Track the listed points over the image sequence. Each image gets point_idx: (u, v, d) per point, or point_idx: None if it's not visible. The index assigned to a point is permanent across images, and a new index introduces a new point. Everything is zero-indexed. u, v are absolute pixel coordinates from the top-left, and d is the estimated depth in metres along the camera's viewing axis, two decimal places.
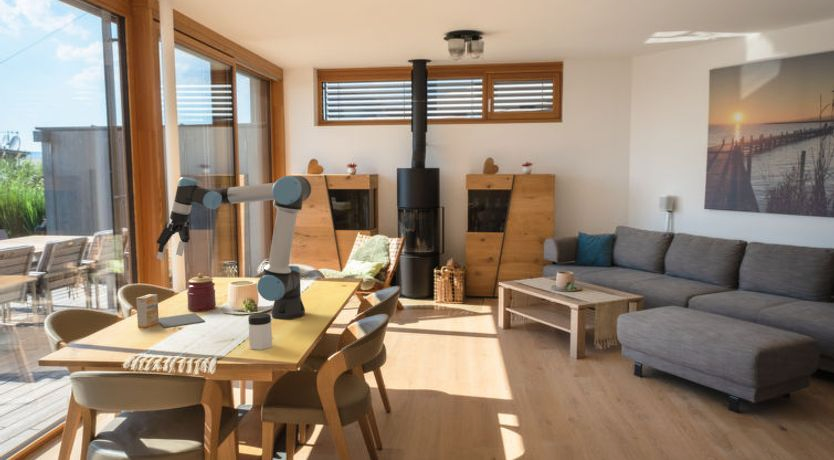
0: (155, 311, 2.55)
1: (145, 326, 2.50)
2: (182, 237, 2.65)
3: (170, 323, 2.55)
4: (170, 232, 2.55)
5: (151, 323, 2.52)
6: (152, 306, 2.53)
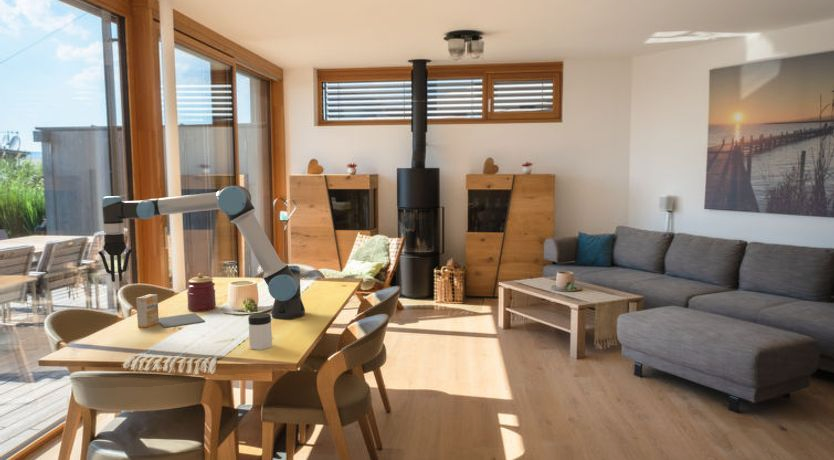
0: (155, 311, 2.55)
1: (145, 326, 2.50)
2: (117, 266, 2.45)
3: (170, 323, 2.55)
4: (110, 258, 2.43)
5: (151, 323, 2.52)
6: (152, 306, 2.53)
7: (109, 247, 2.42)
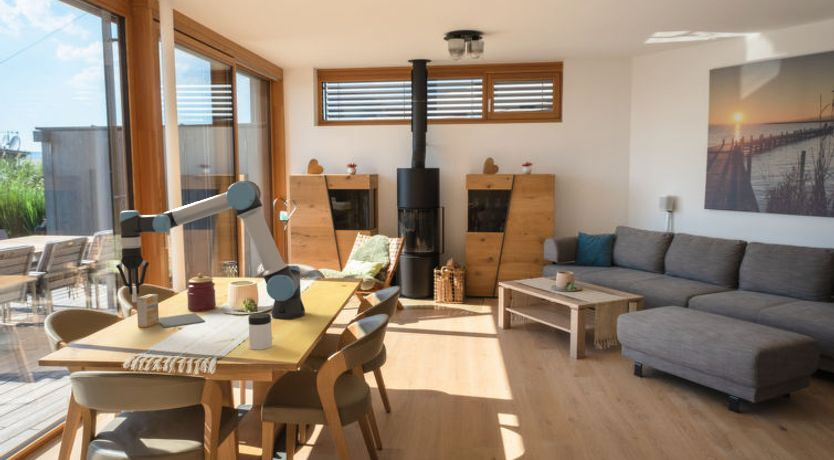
0: (155, 311, 2.55)
1: (145, 326, 2.50)
2: (135, 279, 2.49)
3: (170, 323, 2.55)
4: (128, 271, 2.47)
5: (151, 323, 2.52)
6: (152, 306, 2.53)
7: (127, 261, 2.46)
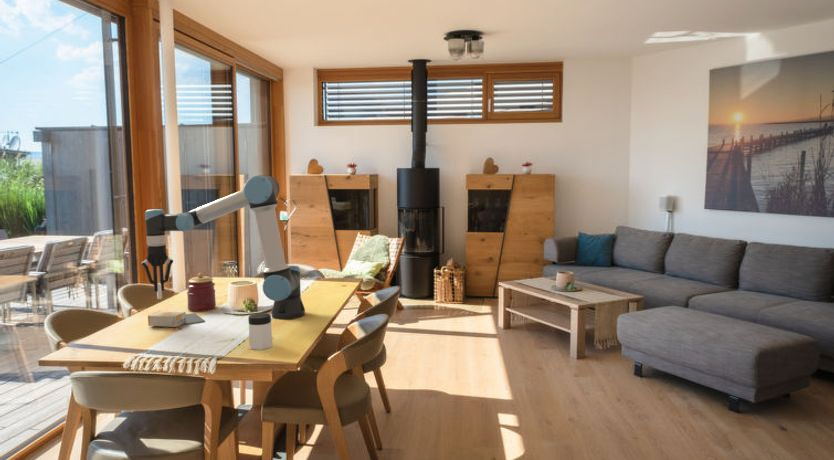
0: None
1: (149, 324, 2.50)
2: (160, 276, 2.55)
3: None
4: (153, 269, 2.53)
5: None
6: None
7: (152, 258, 2.52)
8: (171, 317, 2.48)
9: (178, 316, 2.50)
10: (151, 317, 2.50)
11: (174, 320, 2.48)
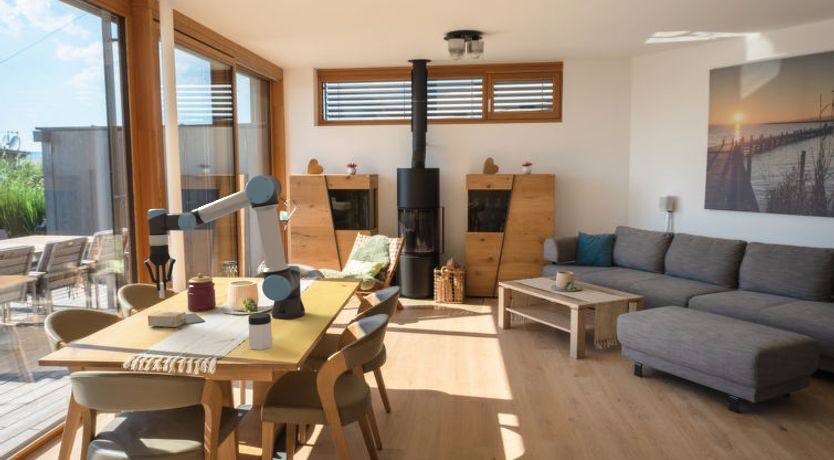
0: None
1: (149, 324, 2.50)
2: (162, 275, 2.55)
3: None
4: (155, 268, 2.53)
5: None
6: None
7: (154, 258, 2.52)
8: (171, 317, 2.48)
9: (178, 316, 2.50)
10: (151, 317, 2.50)
11: (174, 320, 2.48)
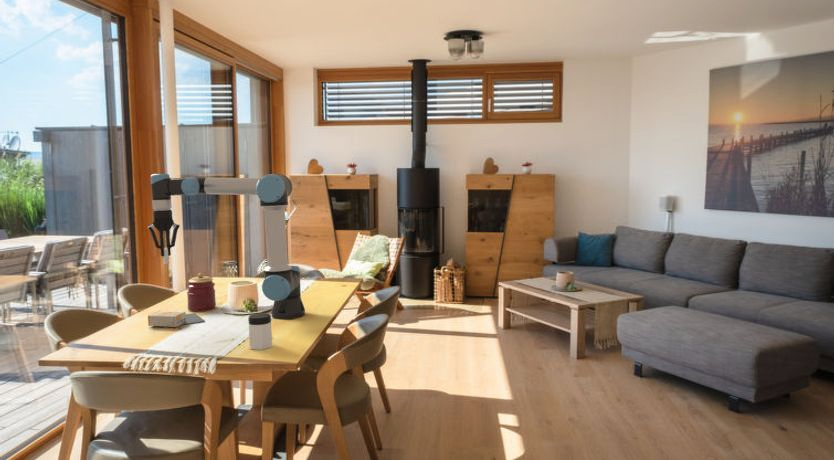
0: None
1: (149, 324, 2.50)
2: (166, 241, 2.54)
3: None
4: (159, 234, 2.52)
5: None
6: None
7: (158, 223, 2.51)
8: (171, 317, 2.48)
9: (178, 316, 2.50)
10: (151, 317, 2.50)
11: (174, 320, 2.48)
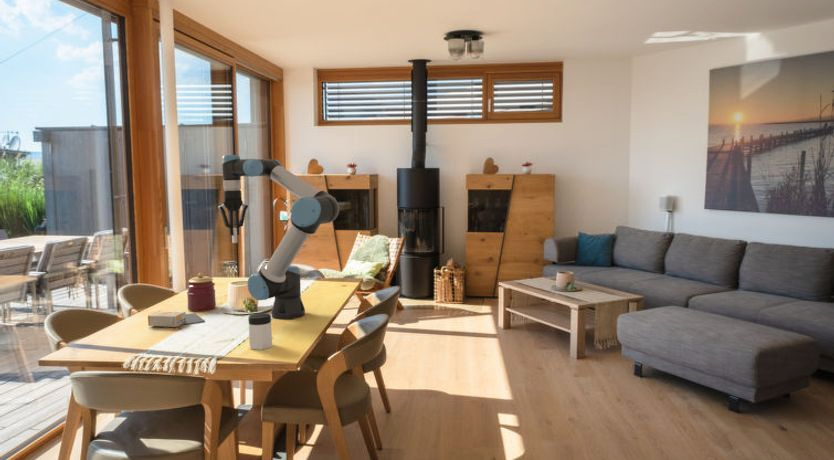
0: None
1: (149, 324, 2.50)
2: (235, 220, 2.61)
3: None
4: (229, 213, 2.60)
5: None
6: None
7: (228, 203, 2.58)
8: (171, 317, 2.48)
9: (178, 316, 2.50)
10: (151, 317, 2.50)
11: (174, 320, 2.48)
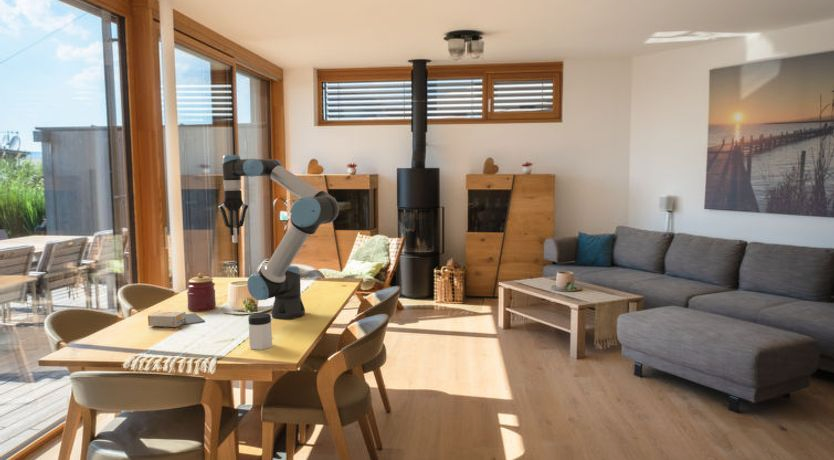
0: None
1: (149, 324, 2.50)
2: (235, 220, 2.61)
3: None
4: (229, 213, 2.60)
5: None
6: None
7: (229, 202, 2.58)
8: (171, 317, 2.48)
9: (178, 316, 2.50)
10: (151, 317, 2.50)
11: (174, 320, 2.48)
